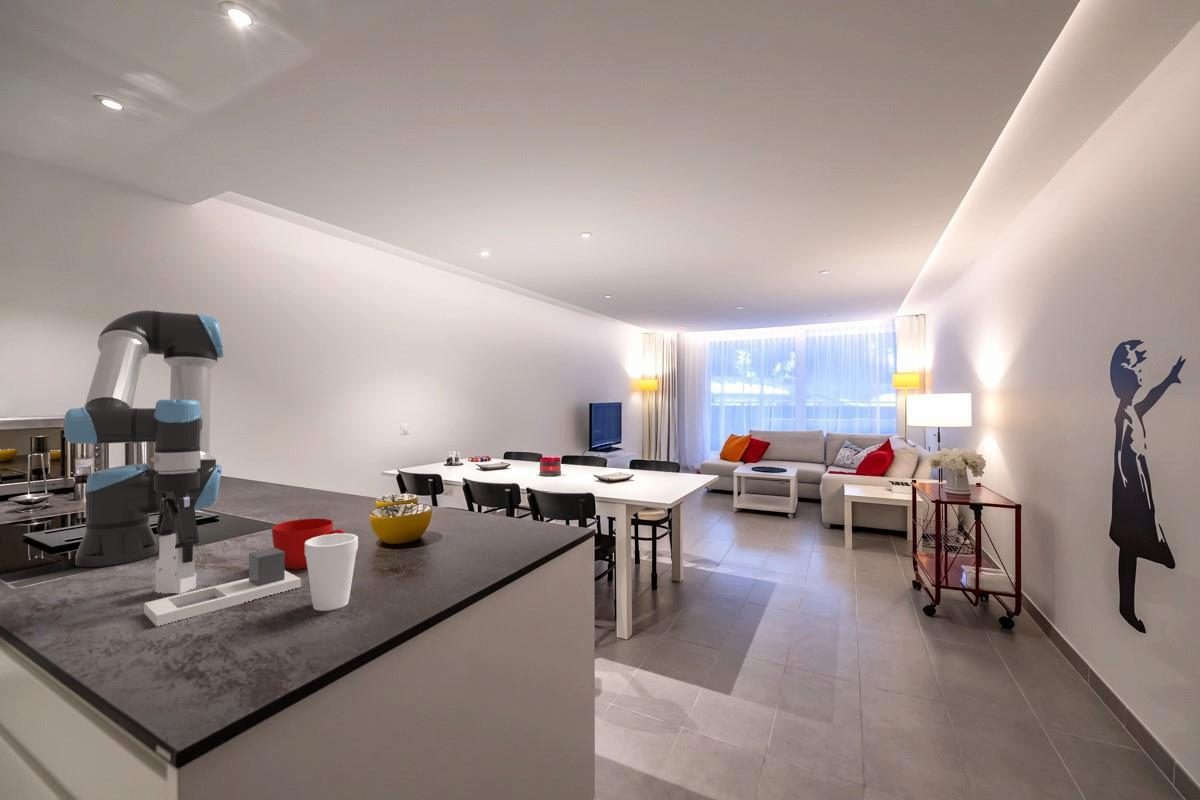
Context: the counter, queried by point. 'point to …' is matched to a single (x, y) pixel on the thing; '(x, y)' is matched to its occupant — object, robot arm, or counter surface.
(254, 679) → the counter surface
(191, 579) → the white angled block
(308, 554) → the foam cup
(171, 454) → the robot arm
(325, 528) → the ceramic cup
